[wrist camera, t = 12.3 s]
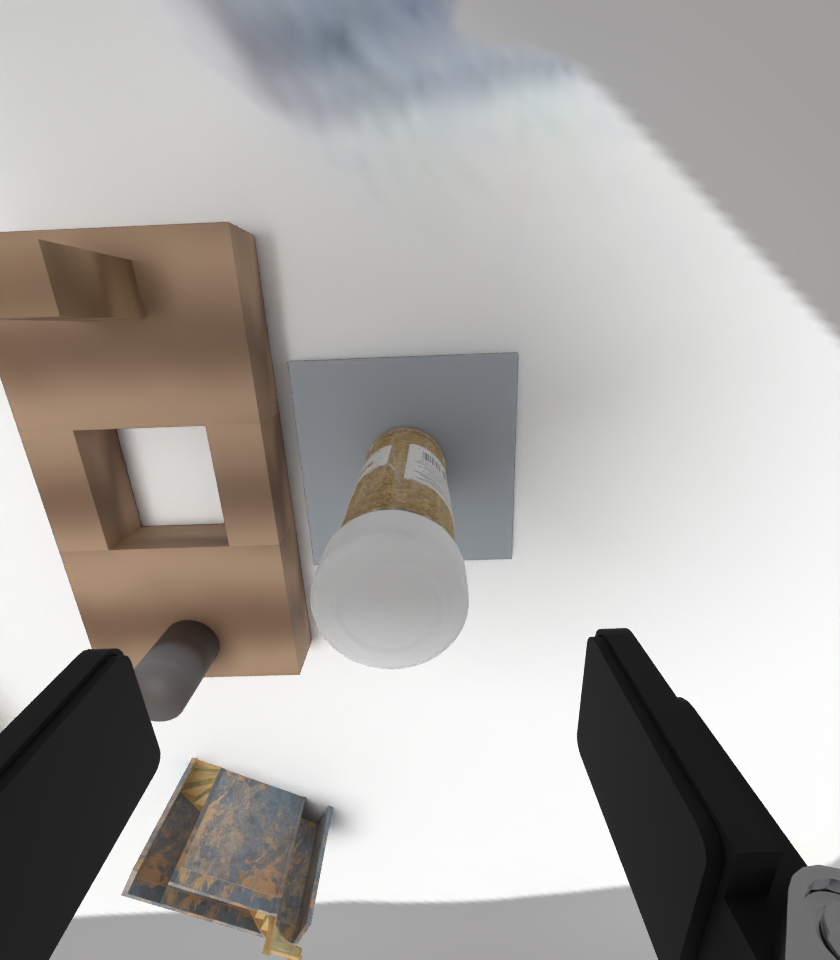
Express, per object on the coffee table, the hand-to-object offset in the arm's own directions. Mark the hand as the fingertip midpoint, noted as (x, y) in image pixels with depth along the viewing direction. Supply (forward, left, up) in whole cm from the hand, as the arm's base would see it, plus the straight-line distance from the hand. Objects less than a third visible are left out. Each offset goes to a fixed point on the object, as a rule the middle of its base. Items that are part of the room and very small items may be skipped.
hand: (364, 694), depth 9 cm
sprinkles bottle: (0, 0, -17) cm, 17 cm away
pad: (0, 0, -17) cm, 17 cm away
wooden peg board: (0, -13, -17) cm, 21 cm away
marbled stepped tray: (+26, -12, -18) cm, 34 cm away
